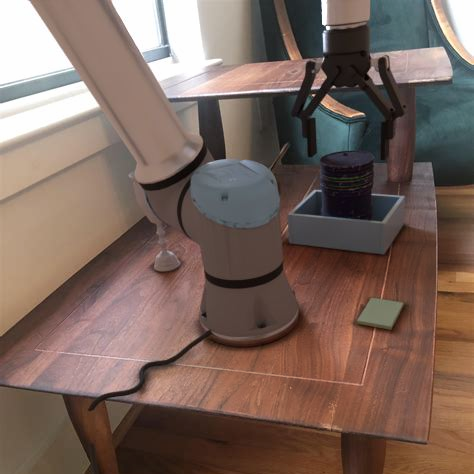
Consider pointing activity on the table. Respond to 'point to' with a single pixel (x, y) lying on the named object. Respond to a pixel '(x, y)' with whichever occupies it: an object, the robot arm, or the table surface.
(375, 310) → the coaster
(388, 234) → the open box
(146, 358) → the table surface
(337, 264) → the table surface
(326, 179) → the dark striped canister
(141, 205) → the chalice
